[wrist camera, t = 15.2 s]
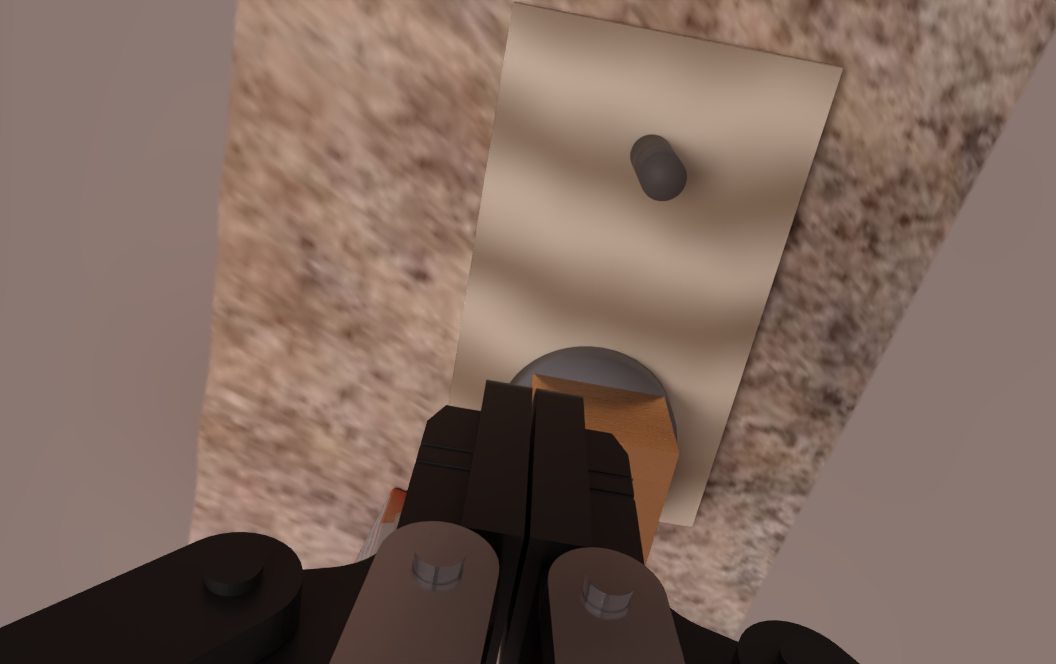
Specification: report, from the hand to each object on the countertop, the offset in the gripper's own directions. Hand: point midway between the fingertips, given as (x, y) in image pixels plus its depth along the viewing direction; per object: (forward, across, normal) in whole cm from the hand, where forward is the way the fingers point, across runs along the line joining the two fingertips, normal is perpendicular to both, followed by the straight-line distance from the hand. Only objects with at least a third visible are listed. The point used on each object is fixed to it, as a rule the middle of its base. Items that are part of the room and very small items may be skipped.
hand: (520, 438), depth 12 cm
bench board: (+26, -5, +7) cm, 27 cm away
